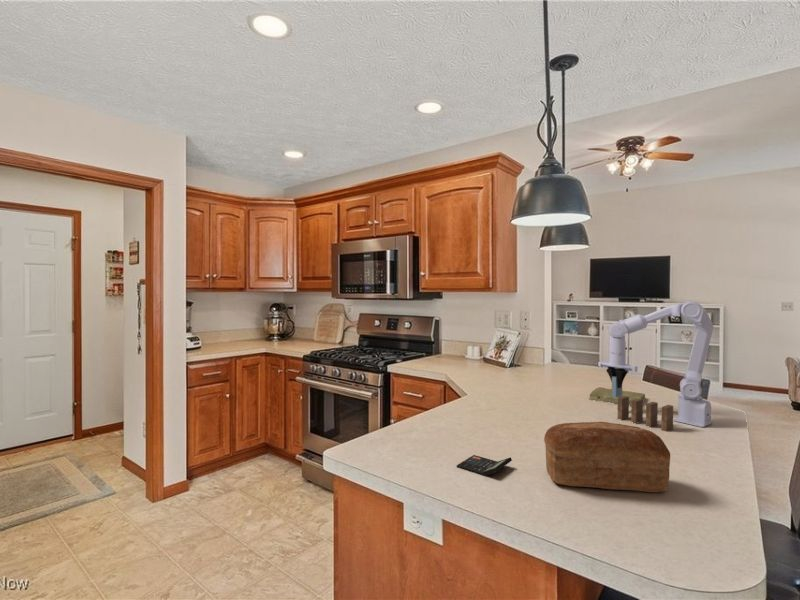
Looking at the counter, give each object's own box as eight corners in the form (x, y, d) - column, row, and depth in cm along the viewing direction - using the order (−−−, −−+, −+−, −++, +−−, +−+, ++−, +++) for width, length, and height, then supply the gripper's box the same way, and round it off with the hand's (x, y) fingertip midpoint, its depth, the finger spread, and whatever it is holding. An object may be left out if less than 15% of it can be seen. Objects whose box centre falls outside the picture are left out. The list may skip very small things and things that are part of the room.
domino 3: (642, 421, 152) (642, 399, 152) (635, 423, 149) (636, 401, 149) (638, 420, 153) (638, 398, 153) (631, 422, 150) (631, 400, 150)
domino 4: (657, 424, 148) (657, 402, 148) (650, 427, 145) (651, 404, 145) (652, 423, 149) (652, 401, 149) (645, 426, 146) (646, 403, 146)
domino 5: (672, 428, 144) (673, 405, 143) (666, 431, 141) (666, 408, 141) (667, 427, 145) (668, 404, 145) (661, 430, 142) (661, 407, 142)
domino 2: (628, 418, 156) (628, 396, 156) (621, 420, 153) (622, 398, 153) (624, 417, 157) (624, 396, 157) (617, 419, 154) (617, 397, 154)
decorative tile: (596, 393, 197) (596, 385, 197) (645, 400, 184) (645, 392, 184) (586, 401, 182) (586, 393, 182) (639, 409, 170) (639, 400, 170)
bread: (540, 468, 111) (541, 415, 111) (654, 476, 106) (654, 420, 106) (549, 489, 99) (549, 429, 99) (677, 499, 95) (678, 436, 94)
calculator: (473, 457, 119) (473, 447, 119) (512, 468, 111) (512, 457, 111) (456, 468, 112) (456, 457, 111) (496, 480, 104) (496, 469, 104)
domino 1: (622, 396, 165) (622, 376, 165) (615, 397, 162) (615, 377, 162) (618, 395, 166) (618, 375, 166) (611, 397, 163) (611, 376, 163)
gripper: (641, 354, 160) (641, 389, 160) (604, 350, 172) (604, 382, 172) (632, 355, 156) (632, 391, 156) (595, 351, 168) (595, 384, 168)
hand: (617, 387), depth 164 cm, fingers closed on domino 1, 1 cm apart
